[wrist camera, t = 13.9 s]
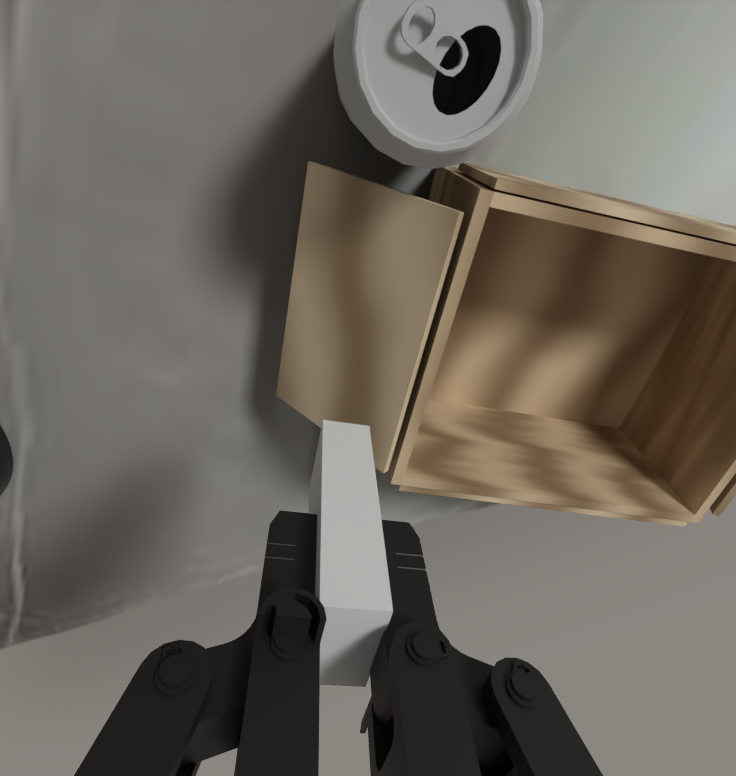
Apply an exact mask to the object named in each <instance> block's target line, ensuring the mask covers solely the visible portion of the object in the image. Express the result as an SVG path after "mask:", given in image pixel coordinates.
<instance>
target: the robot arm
mask: <svg viewBox="0 0 736 776" xmlns="http://www.w3.org/2000/svg"><path fill="white" fill-rule="evenodd" d="M12 469H13V459H12V452H11V448H10V445H9V442H8V440H7V437H6V435H5V433H4V431H3V429H2V428H1V426H0V495H1V494H2V492H3V491H4V490H5V488H6V487H7V485H8V483H9V481H10V478H11V475H12ZM425 569H426V567H425V563H424V558H423V553H422V549H421V544H420V539H419V537H418V535H417V534H416V533H415V531H414V529H413V528H412V526H411V525H410V523H407V522H397V521H387V520H381V512H380V504H379V497H378V489H377V481H376V473H375V465H374V458H373V450H372V442H371V434H370V426H366V425H359V424H351V423H344V422H336V421H329V420H323V422H322V427H321V432H320V437H319V442H318V447H317V452H316V457H315V462H314V467H313V472H312V477H311V482H310V494H309V514H308V513H298V512H289V511H279V513H278V514H277V515H276V517H275V518H274V520H273V521H272V522H271V524H270V527H269V534H268V540H267V547H266V553H265V560H264V567H263V574H262V581H261V588H260V595H259V602H258V609H257V615H256V619H255V620H254V622H253V624H252V625H251V627H250V628H249V629H248V630H247V631H246V632H245V633H244V634H243V635H242V636H240V637H238V638H237V639H235V640H233V641H231V642H228V643H225V644H222V645H218V646H214V647H211V648H207V649H205V648H204V647H202V646H201V645H199V644H197V643H195V642H193V641H184V640H177V641H173V642H169V643H165V644H163V645H162V646H160V647H159V648H157V649H155V650H154V651H152V652H151V653H150V654H149V655H148V656H147V658H146V659H145V660H144V661H143V662H142V664H141V665H140V667H139V668H138V670H137V672H136V673H135V675H134V677H133V678H132V680H131V682H130V683H129V685H128V687H127V688H126V690H125V692H124V693H123V695H122V697H121V699H120V700H119V702H118V703H117V705H116V707H115V708H114V710H113V712H112V713H111V715H110V717H109V718H108V720H107V722H106V723H105V725H104V727H103V729H102V730H101V732H100V733H99V735H98V737H97V738H96V740H95V742H94V743H93V745H92V747H91V748H90V750H89V752H88V754H87V755H86V757H85V759H84V760H83V762H82V764H81V765H80V767H79V768H78V770H77V772H76V773H75V775H74V776H196V773H197V771H198V768H199V766H200V763H201V761H202V760H205V759H208V758H210V757H213V756H216V755H219V754H221V753H224V752H227V751H230V750H232V749H235V748H238V750H237V758H236V765H235V772H234V776H318V757H319V755H318V753H319V752H318V751H319V685H339V686H363V687H365V686H366V684H367V681H368V679H369V675H370V678H371V691H372V696H371V699H370V701H369V704H368V707H367V709H366V712H365V714H364V717H363V719H362V722H361V730H360V733H365V732H366V730H367V727H368V737H369V754H370V770H371V776H603V775H602V773H601V772H600V770H599V768H598V767H597V765H596V763H595V761H594V760H593V758H592V756H591V755H590V753H589V751H588V749H587V748H586V746H585V744H584V743H583V741H582V739H581V738H580V736H579V734H578V733H577V731H576V729H575V728H574V726H573V724H572V722H571V721H570V719H569V717H568V716H567V714H566V712H565V711H564V709H563V707H562V705H561V704H560V702H559V700H558V699H557V697H556V695H555V694H554V692H553V691H552V688H551V687H550V685H549V684H548V682H547V681H546V679H545V678H544V677H543V675H542V674H541V673H540V672H539V671H538V670H537V669H536V668H534V667H533V666H532V665H530V664H529V663H528V662H525V661H523V660H520V659H518V658H504V659H502V660H500V661H498V662H496V664H495V666H491V665H489V664H486V663H484V662H481V661H479V660H476V659H474V658H471V657H469V656H466V655H465V654H462V653H461V652H459V651H458V650H457V649H455V648H454V647H453V646H451V644H450V642H449V640H448V639H447V638H446V637H445V636H444V634H443V633H442V632H441V631H440V629H439V626H438V623H437V620H436V616H435V610H434V605H433V602H432V596H431V592H430V586H429V582H428V577H427V572H426V571H425Z"/></svg>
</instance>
